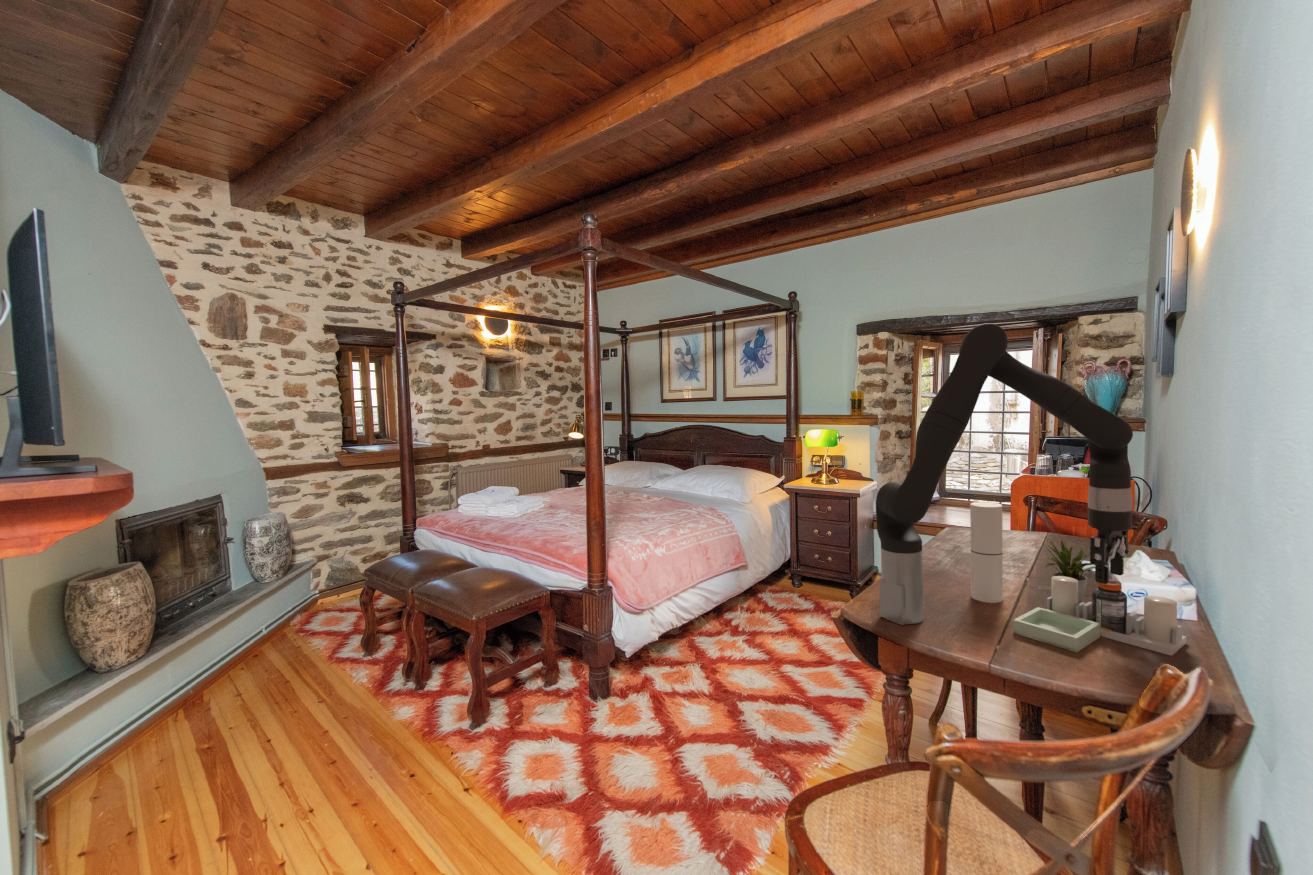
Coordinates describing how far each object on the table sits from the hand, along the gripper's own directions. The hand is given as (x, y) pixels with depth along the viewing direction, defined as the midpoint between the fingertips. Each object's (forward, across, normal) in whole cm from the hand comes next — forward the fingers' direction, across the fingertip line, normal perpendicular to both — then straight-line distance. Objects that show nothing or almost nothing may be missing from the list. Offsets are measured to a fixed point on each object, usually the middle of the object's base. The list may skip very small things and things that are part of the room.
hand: (1109, 578), depth 119 cm
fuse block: (+12, 0, 0) cm, 12 cm away
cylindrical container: (+12, 0, +26) cm, 29 cm away
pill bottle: (+12, 0, 0) cm, 12 cm away
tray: (+12, -11, +6) cm, 17 cm away
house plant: (+12, +14, +14) cm, 23 cm away
